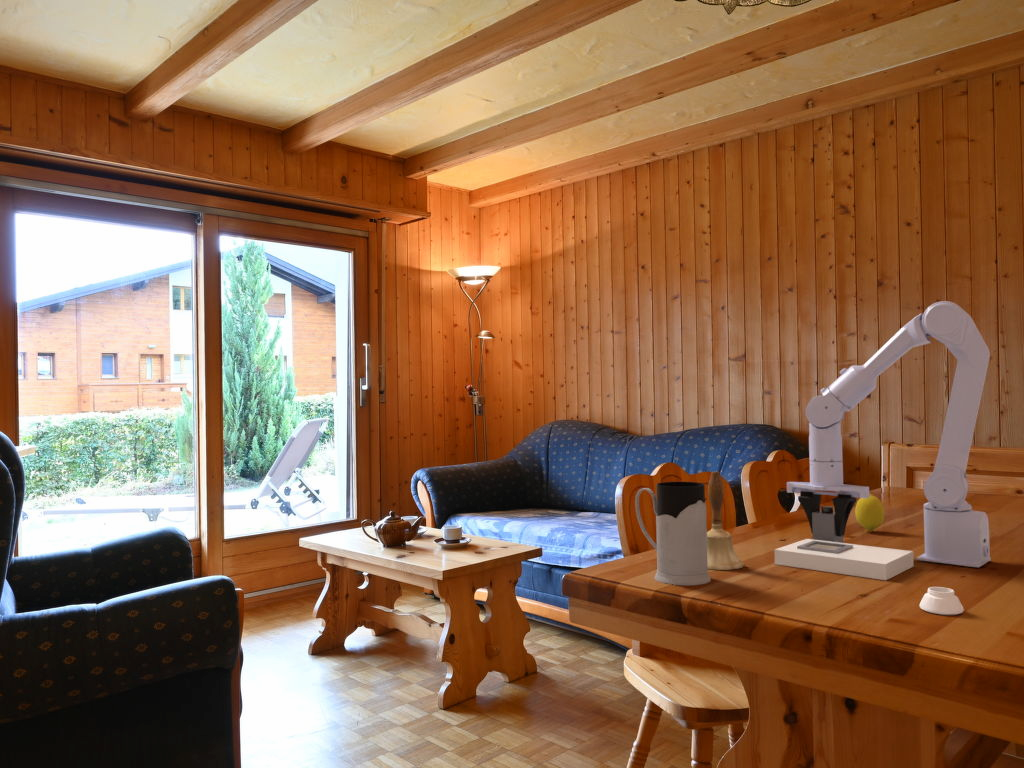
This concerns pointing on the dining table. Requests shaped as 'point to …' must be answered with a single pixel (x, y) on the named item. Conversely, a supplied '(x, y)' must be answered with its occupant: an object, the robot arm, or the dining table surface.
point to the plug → (825, 525)
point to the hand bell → (719, 532)
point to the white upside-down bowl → (941, 601)
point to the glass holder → (679, 532)
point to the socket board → (845, 558)
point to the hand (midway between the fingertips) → (827, 534)
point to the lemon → (869, 512)
